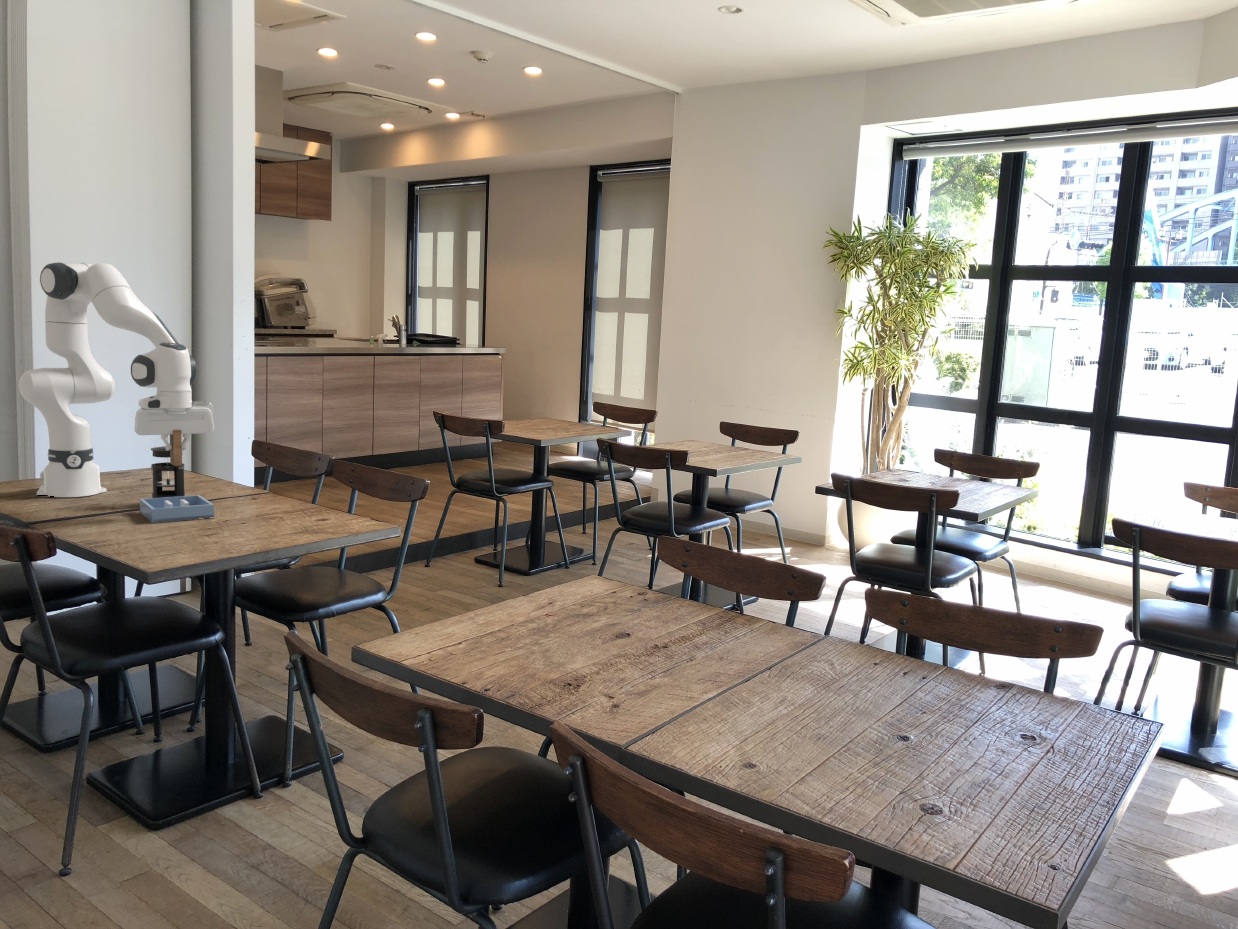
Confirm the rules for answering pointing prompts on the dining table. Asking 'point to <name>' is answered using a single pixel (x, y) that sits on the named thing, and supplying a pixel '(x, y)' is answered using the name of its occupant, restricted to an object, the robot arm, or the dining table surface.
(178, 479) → the french press
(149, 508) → the shallow blue crate
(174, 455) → the brown wooden block
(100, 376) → the robot arm
